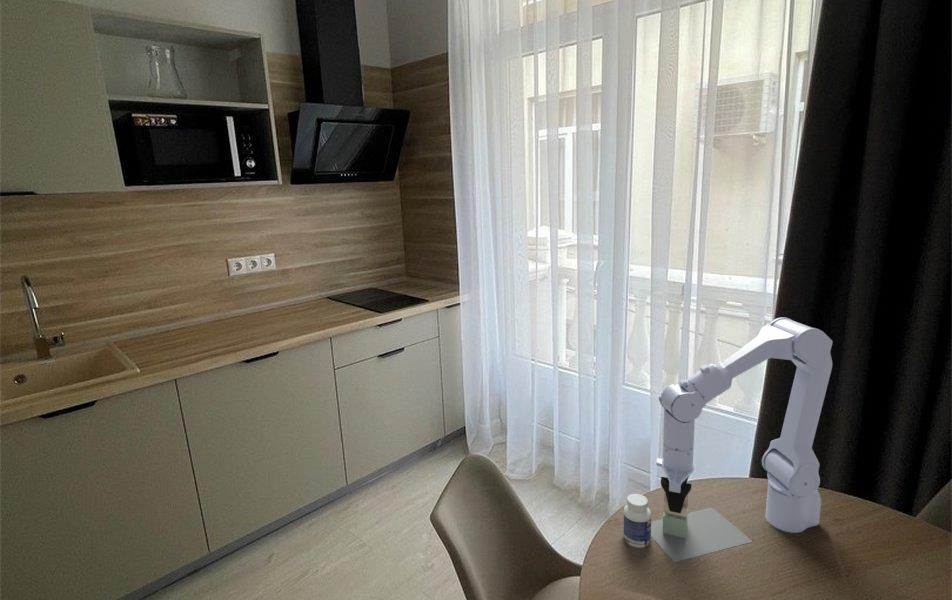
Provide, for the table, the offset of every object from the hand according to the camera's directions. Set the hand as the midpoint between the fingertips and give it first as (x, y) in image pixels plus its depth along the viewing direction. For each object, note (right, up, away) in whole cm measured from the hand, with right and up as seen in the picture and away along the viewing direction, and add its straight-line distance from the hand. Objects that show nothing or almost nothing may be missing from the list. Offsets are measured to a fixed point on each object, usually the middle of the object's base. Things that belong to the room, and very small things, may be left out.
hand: (675, 504), depth 100 cm
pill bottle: (-8, -8, -1) cm, 11 cm away
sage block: (0, -6, +1) cm, 6 cm away
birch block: (0, -1, 0) cm, 1 cm away
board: (+4, -7, 0) cm, 8 cm away
